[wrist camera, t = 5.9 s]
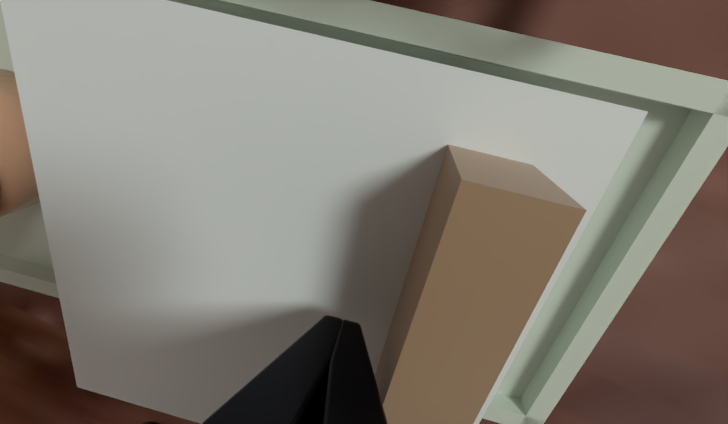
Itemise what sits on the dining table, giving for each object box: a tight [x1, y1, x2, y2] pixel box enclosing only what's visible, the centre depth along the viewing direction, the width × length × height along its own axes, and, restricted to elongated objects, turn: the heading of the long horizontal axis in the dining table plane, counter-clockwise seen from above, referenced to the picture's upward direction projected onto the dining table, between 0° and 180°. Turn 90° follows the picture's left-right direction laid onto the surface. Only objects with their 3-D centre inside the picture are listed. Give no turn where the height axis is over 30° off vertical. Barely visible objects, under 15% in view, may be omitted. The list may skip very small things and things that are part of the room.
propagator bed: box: [0, 0, 728, 424], centre depth 13 cm, size 14×29×2 cm, turn 78°
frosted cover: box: [0, 0, 648, 424], centre depth 9 cm, size 12×12×7 cm
